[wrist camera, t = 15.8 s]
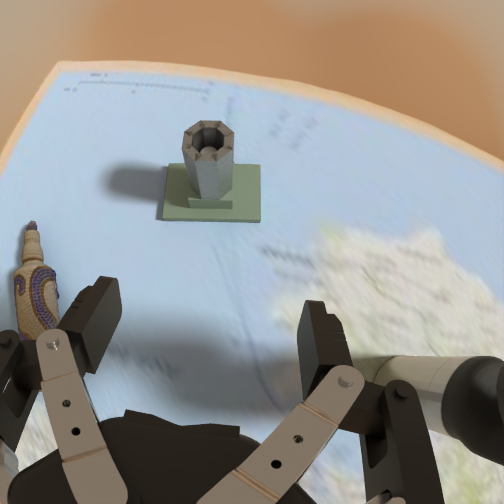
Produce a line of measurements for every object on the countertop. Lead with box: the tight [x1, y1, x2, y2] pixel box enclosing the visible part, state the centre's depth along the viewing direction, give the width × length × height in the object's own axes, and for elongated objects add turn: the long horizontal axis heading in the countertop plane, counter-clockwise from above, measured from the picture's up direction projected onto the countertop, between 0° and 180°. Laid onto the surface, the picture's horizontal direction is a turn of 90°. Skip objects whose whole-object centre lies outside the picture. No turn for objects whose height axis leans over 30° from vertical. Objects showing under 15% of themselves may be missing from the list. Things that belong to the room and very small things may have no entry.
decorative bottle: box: [14, 221, 60, 392], centre depth 39 cm, size 26×8×7 cm, turn 14°
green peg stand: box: [162, 146, 261, 223], centre depth 43 cm, size 14×9×11 cm, turn 90°
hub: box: [182, 120, 234, 200], centre depth 39 cm, size 6×6×10 cm
